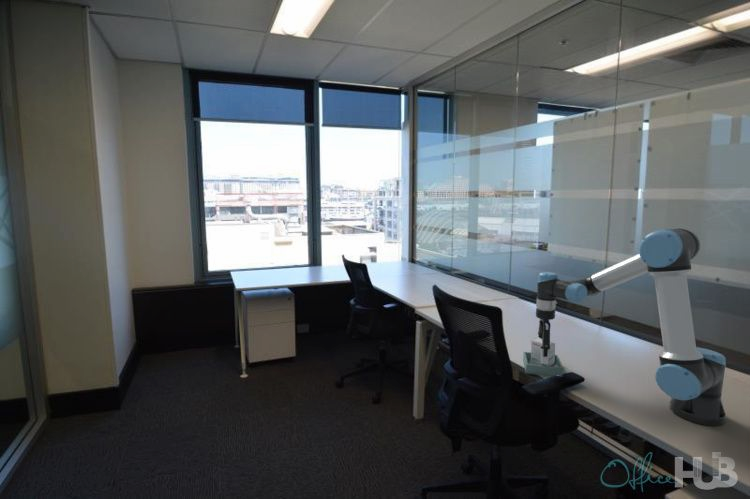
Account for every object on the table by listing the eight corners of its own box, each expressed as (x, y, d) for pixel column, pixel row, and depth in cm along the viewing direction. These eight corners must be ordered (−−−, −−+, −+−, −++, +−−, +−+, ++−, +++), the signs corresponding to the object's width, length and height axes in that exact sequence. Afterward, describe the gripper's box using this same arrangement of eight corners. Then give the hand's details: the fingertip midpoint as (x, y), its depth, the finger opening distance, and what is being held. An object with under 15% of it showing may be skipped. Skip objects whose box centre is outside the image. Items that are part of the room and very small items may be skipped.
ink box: (554, 369, 176) (556, 343, 174) (548, 372, 173) (550, 345, 171) (536, 362, 182) (537, 337, 181) (529, 365, 179) (531, 339, 178)
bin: (562, 377, 169) (563, 368, 169) (525, 373, 173) (526, 364, 173) (557, 363, 183) (557, 355, 183) (523, 360, 187) (523, 351, 186)
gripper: (559, 317, 162) (556, 370, 165) (551, 302, 185) (548, 348, 188) (539, 315, 164) (536, 367, 167) (533, 300, 187) (530, 346, 190)
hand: (542, 357), depth 178 cm, fingers open, 11 cm apart
